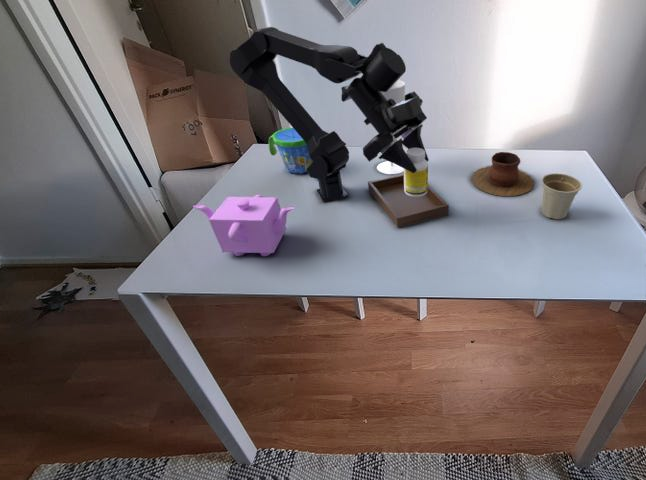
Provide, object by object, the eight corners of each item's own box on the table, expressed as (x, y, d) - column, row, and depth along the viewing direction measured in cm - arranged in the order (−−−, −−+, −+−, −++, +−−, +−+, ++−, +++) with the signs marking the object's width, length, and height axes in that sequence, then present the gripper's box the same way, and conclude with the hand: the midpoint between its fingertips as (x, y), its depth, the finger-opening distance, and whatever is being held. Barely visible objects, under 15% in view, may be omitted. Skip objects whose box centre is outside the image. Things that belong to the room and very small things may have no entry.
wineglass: (414, 165, 116) (412, 82, 101) (393, 178, 109) (387, 91, 95) (390, 157, 120) (385, 76, 105) (368, 169, 113) (359, 84, 98)
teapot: (278, 219, 92) (266, 177, 85) (305, 245, 84) (293, 202, 77) (210, 244, 84) (189, 200, 77) (232, 275, 76) (212, 230, 69)
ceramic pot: (547, 186, 109) (552, 162, 104) (498, 203, 101) (501, 178, 96) (505, 162, 120) (508, 139, 115) (458, 175, 112) (459, 152, 107)
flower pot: (580, 213, 98) (589, 182, 93) (560, 228, 93) (569, 196, 87) (548, 199, 103) (554, 169, 97) (528, 213, 98) (534, 181, 92)
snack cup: (334, 165, 114) (328, 131, 107) (314, 181, 106) (306, 145, 100) (288, 157, 117) (280, 123, 111) (265, 172, 110) (255, 136, 103)
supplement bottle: (430, 195, 89) (431, 155, 82) (407, 199, 87) (407, 158, 81) (423, 184, 92) (423, 145, 86) (401, 187, 91) (400, 147, 84)
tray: (368, 190, 104) (367, 181, 102) (415, 180, 109) (414, 171, 107) (397, 227, 91) (397, 218, 89) (448, 214, 96) (449, 205, 94)
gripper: (370, 93, 69) (425, 164, 73) (419, 70, 82) (463, 132, 86) (339, 128, 77) (391, 191, 81) (388, 102, 90) (430, 157, 94)
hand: (421, 166), depth 85 cm, fingers closed on supplement bottle, 5 cm apart
